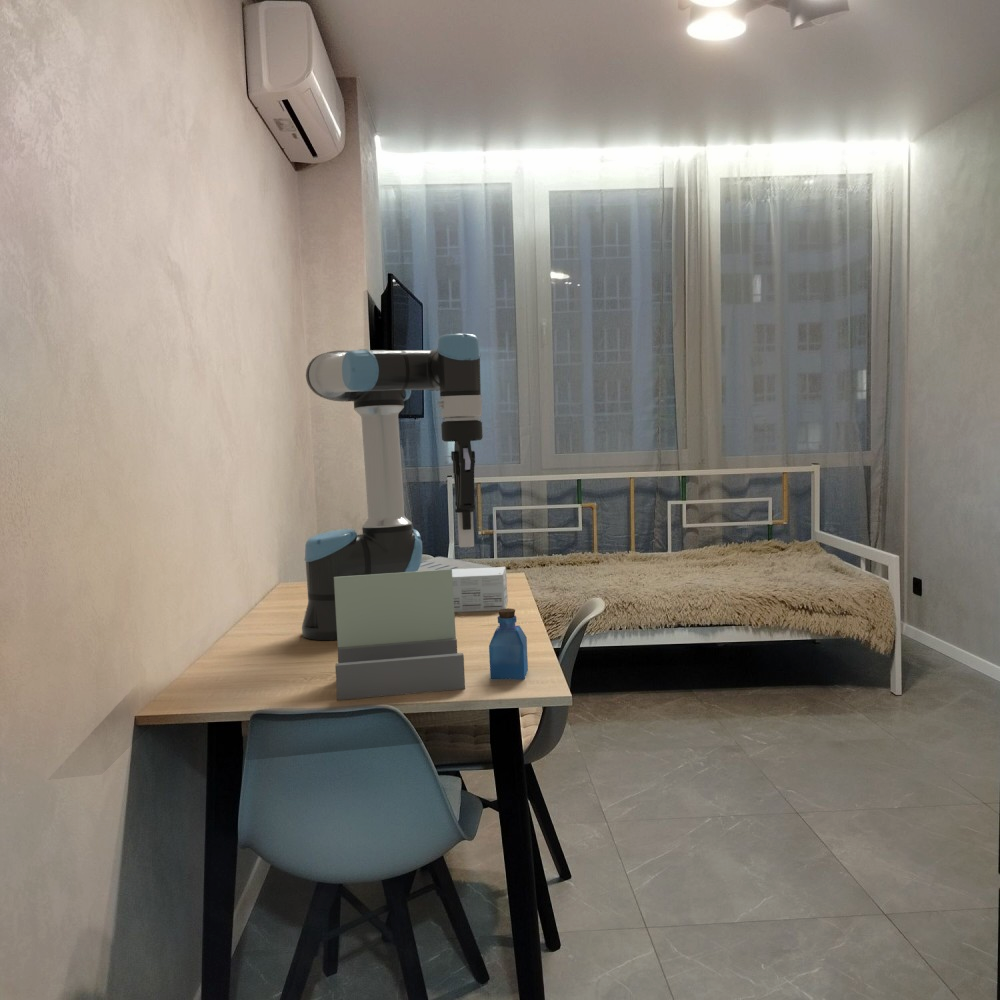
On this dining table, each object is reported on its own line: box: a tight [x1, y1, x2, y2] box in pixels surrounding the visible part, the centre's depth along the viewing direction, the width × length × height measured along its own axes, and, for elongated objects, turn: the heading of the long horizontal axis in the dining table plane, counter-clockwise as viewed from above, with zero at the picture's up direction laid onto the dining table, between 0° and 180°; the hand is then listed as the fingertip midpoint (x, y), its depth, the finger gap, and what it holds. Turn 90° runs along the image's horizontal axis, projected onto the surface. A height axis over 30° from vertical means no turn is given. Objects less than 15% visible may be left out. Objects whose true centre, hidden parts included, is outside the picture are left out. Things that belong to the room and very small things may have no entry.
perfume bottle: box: [488, 607, 529, 680], centre depth 158 cm, size 6×6×12 cm
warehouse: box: [418, 555, 495, 571], centre depth 251 cm, size 30×14×8 cm, turn 35°
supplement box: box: [452, 566, 509, 613], centre depth 222 cm, size 17×13×9 cm
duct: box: [334, 637, 466, 701], centre depth 155 cm, size 13×22×6 cm, turn 99°
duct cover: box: [334, 569, 457, 648], centre depth 162 cm, size 13×22×1 cm
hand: (466, 546), depth 161 cm, fingers closed
